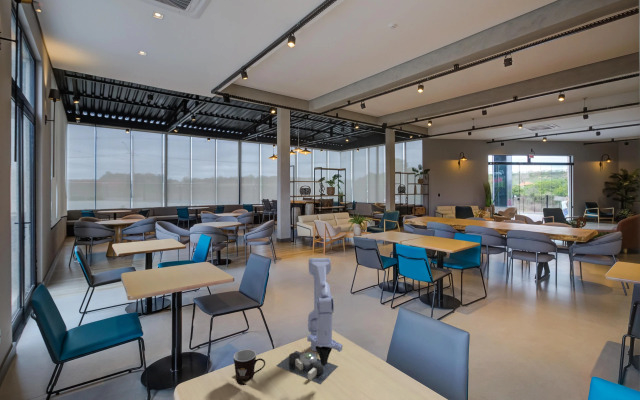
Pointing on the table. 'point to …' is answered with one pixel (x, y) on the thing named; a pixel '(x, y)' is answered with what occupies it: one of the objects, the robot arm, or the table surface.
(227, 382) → the table surface
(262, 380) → the table surface
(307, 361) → the plate
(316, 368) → the knob
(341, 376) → the table surface
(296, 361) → the knob
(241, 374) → the coffee mug
